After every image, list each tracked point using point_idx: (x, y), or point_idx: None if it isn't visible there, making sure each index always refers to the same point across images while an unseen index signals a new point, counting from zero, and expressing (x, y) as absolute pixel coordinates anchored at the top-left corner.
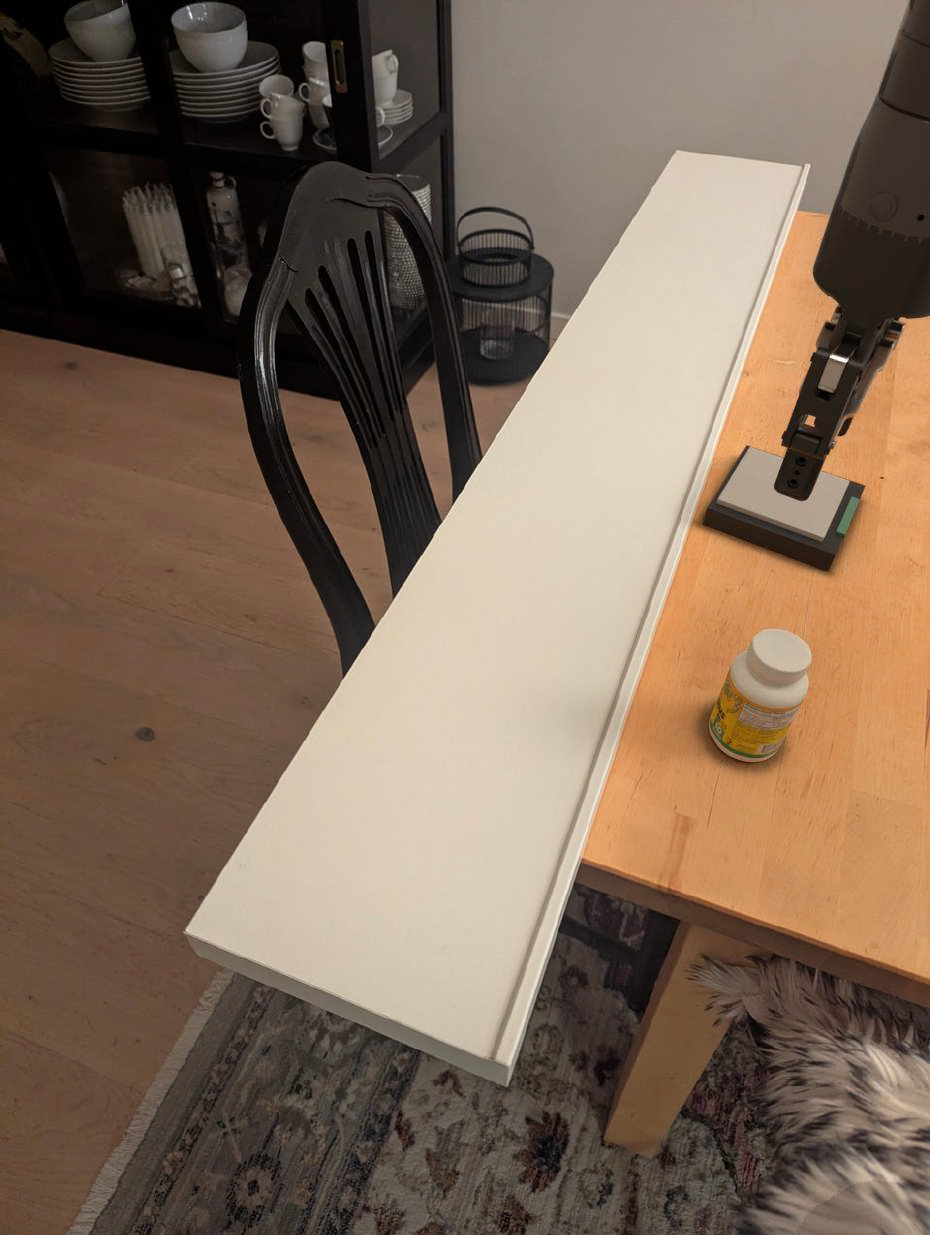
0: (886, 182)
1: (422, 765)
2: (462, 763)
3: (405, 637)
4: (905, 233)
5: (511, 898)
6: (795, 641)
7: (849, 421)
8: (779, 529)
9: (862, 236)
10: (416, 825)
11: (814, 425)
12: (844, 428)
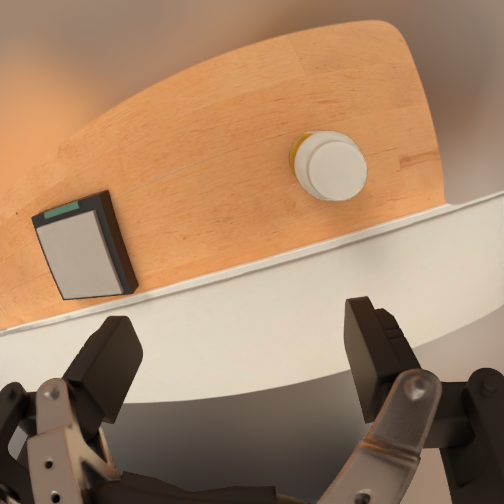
0: None
1: (436, 297)
2: (428, 284)
3: None
4: None
5: (476, 219)
6: (320, 164)
7: (113, 334)
8: (108, 241)
9: None
10: (462, 277)
11: (142, 355)
12: (121, 326)
